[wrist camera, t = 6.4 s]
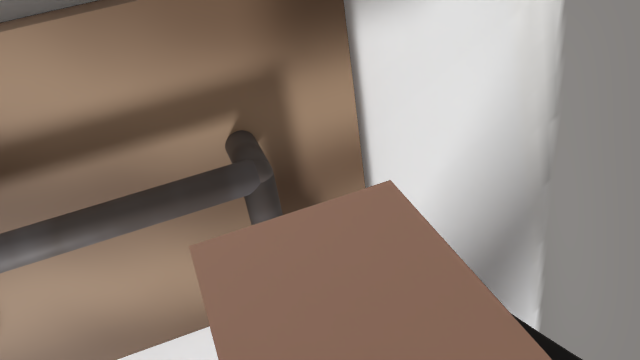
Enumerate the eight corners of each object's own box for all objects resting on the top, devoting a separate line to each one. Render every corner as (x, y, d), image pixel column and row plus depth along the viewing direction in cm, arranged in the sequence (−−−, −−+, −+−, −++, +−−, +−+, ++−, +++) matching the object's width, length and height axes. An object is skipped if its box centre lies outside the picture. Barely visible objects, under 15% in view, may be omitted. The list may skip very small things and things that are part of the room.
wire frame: (364, 252, 24) (407, 315, 21) (-142, 430, 20) (-184, 543, 17) (325, -52, 17) (381, -27, 14) (-445, 124, 13) (-611, 215, 10)
